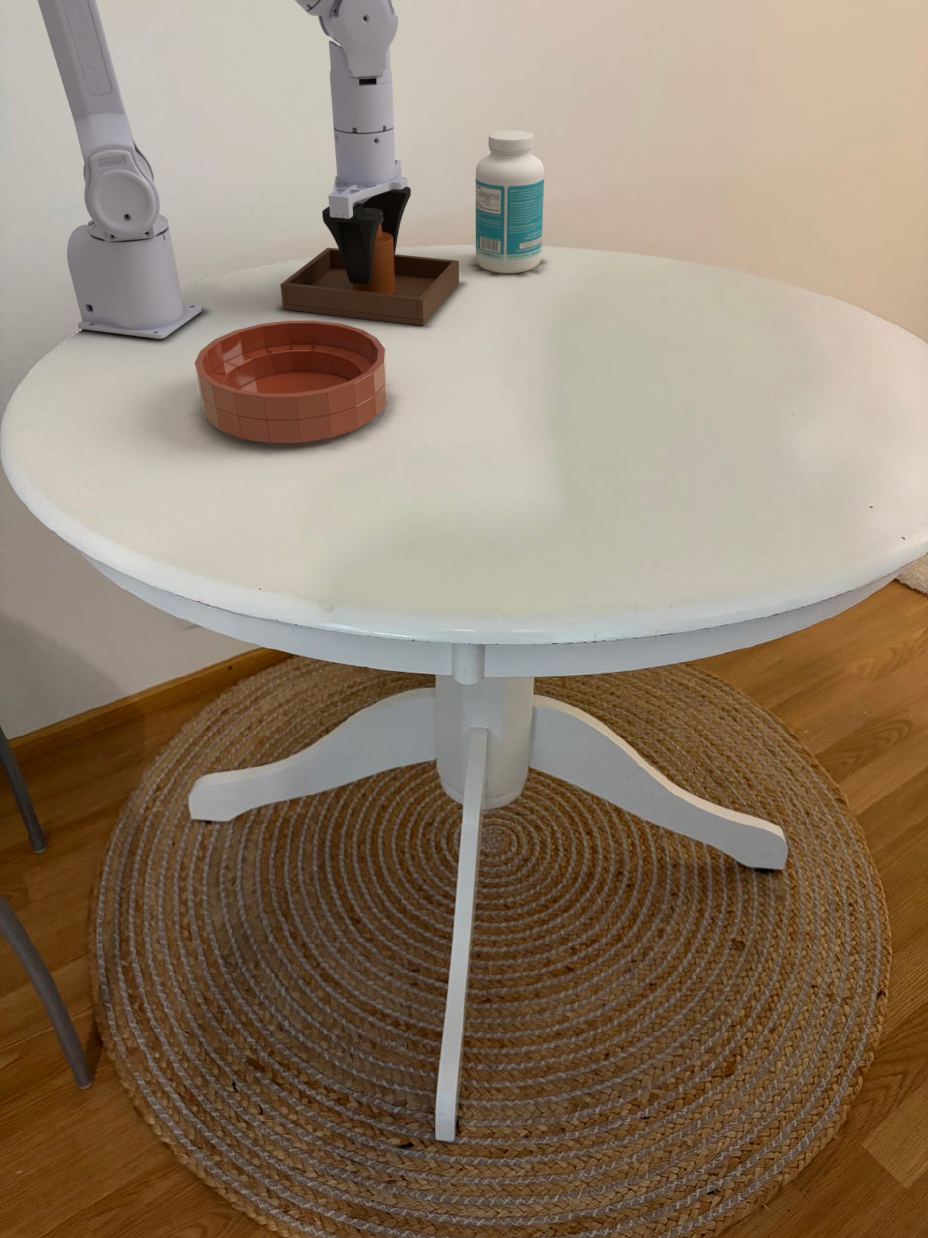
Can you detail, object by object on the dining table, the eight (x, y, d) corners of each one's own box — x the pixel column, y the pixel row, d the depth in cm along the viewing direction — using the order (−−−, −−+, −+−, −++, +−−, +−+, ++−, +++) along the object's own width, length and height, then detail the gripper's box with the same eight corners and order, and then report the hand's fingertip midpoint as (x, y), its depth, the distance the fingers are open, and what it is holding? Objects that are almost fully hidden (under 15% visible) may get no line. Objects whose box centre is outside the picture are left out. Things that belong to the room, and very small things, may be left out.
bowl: (170, 434, 76) (159, 382, 74) (255, 360, 88) (248, 312, 85) (347, 461, 73) (342, 407, 70) (411, 380, 84) (410, 331, 82)
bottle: (346, 295, 99) (340, 215, 94) (362, 281, 102) (357, 203, 97) (386, 300, 98) (382, 219, 93) (401, 286, 101) (397, 206, 96)
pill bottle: (541, 255, 111) (548, 127, 103) (539, 276, 105) (546, 143, 97) (477, 252, 112) (479, 125, 103) (472, 274, 106) (472, 141, 98)
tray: (282, 309, 98) (279, 283, 96) (329, 270, 107) (327, 247, 105) (423, 325, 94) (422, 299, 93) (459, 284, 103) (459, 260, 102)
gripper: (376, 147, 84) (383, 299, 93) (427, 114, 95) (430, 253, 103) (302, 141, 86) (316, 292, 94) (361, 109, 96) (369, 247, 105)
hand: (372, 271), depth 99 cm, fingers open, 6 cm apart
